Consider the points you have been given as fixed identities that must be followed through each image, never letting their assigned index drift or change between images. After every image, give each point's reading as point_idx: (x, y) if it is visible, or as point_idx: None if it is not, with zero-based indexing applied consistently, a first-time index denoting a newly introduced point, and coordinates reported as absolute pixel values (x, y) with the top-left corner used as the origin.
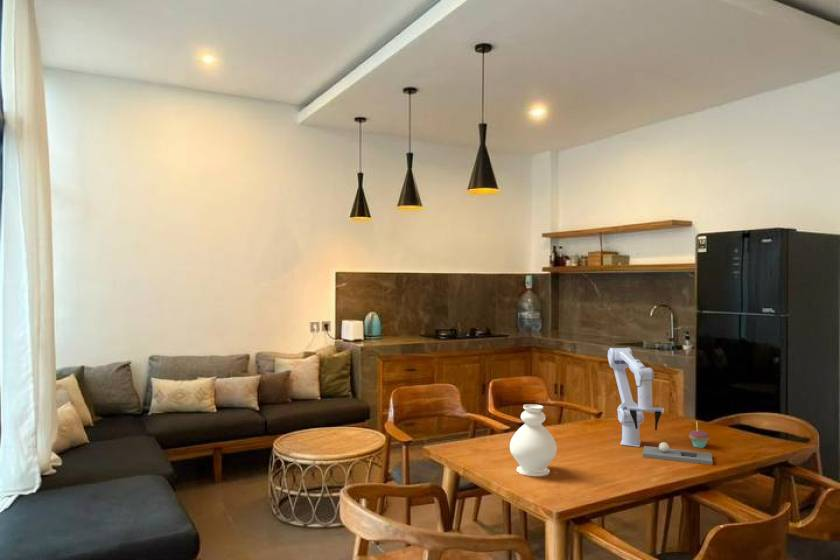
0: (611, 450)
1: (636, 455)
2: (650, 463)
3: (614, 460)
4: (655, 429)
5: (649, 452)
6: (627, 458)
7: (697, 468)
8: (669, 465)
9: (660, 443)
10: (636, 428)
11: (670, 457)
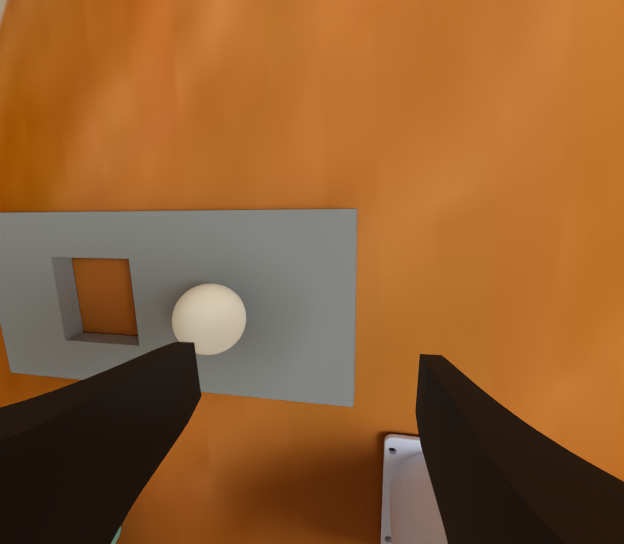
0: (594, 295)
1: (401, 233)
2: (301, 71)
3: (581, 7)
4: (183, 342)
5: (311, 256)
6: (467, 124)
7: (50, 105)
8: (188, 87)
9: (219, 323)
10: (433, 356)
11: (183, 211)
